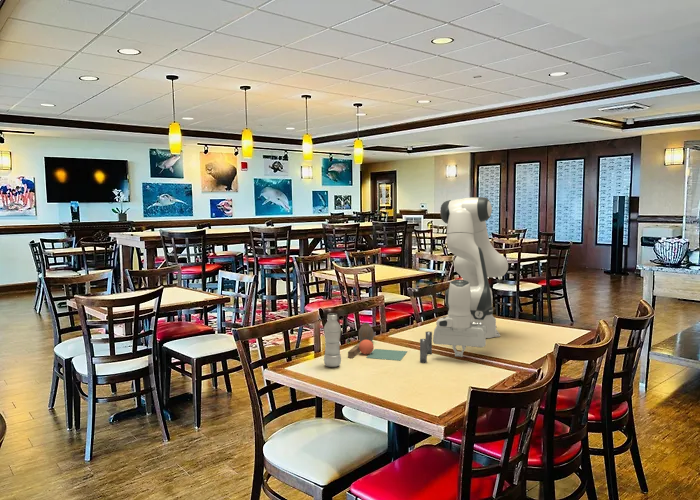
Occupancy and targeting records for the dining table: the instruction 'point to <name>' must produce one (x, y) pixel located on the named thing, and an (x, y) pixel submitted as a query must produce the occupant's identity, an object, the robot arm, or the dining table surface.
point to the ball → (366, 346)
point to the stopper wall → (354, 351)
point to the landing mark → (387, 354)
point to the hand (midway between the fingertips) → (459, 356)
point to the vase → (366, 332)
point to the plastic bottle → (332, 341)
